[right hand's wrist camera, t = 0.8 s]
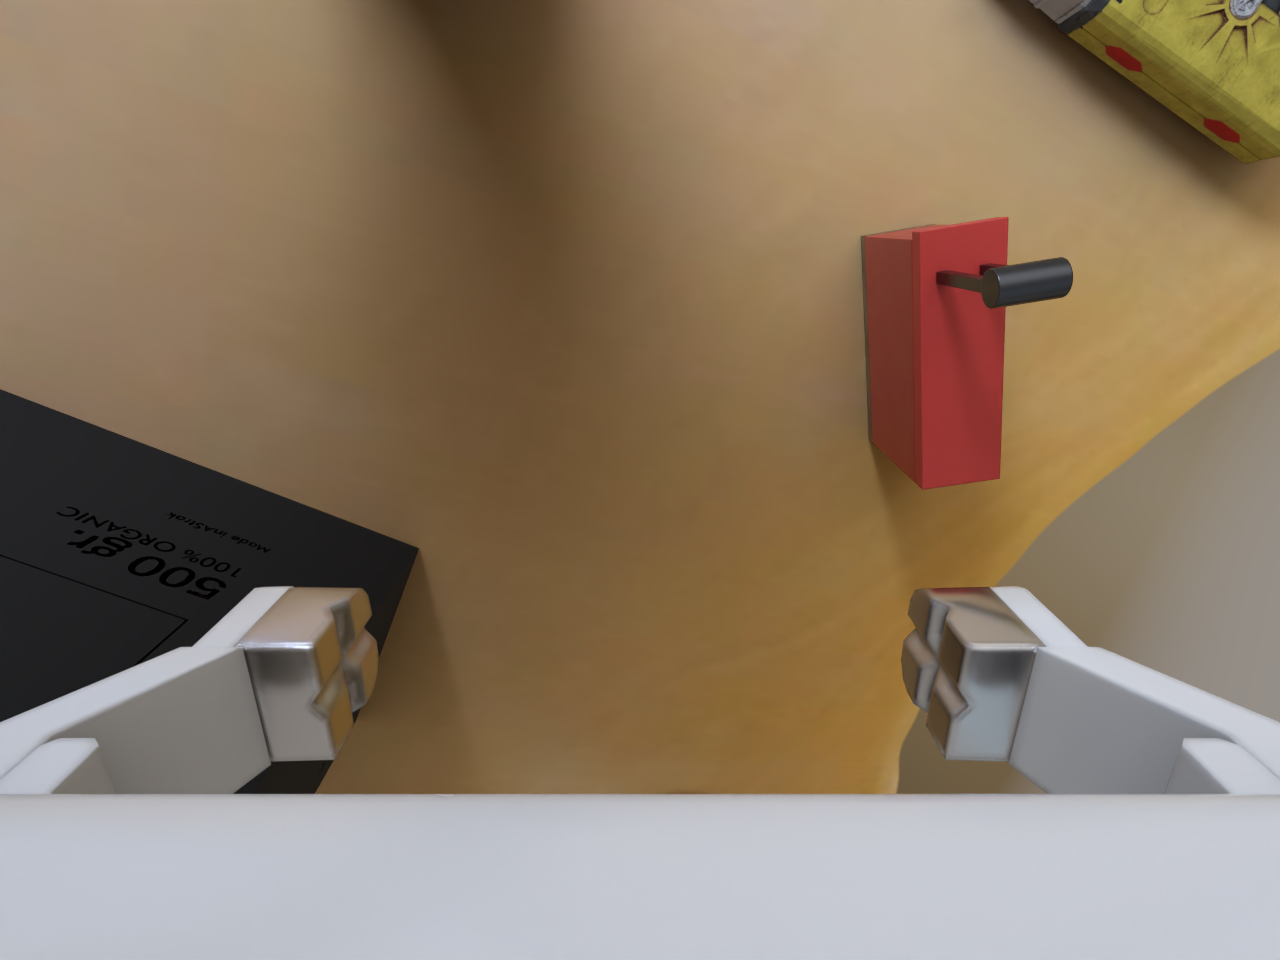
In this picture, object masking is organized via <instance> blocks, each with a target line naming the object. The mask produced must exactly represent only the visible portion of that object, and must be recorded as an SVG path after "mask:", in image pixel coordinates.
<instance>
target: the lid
mask: <svg viewBox="0 0 1280 960" xmlns="http://www.w3.org/2000/svg"><path fill="white" fill-rule="evenodd" d="M1007 245H1008V217H996V218H990V219H984V220H978V221H972V222H966V223H960V224H953V225H947V226H941V227H935V228H929V229H923V230H917V231H913V232H912V265H913V335H914V405H915V476H916V484H917V485H918V486H919V487H920V488H921V489H930V488H937V487H944V486H951V485H958V484H965V483H972V482H979V481H986V480H993V479H999V478H1000V457H1001V426H1002V396H1003V366H1004V336H1005V307H1006V306H1012V305H1019V304H1025V303H1031V302H1038V301H1044V300H1050V299H1057V298H1062V297H1064V296H1066V295H1067V294H1068V293H1069V291H1070V289H1071V286H1072V282H1073V272H1072V267H1071V265H1070V263H1069V261H1068V260H1067V259H1065V258H1063V257H1059V258H1053V259H1046V260H1040V261H1034V262H1028V263H1022V264H1015V265H1007Z"/></svg>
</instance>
